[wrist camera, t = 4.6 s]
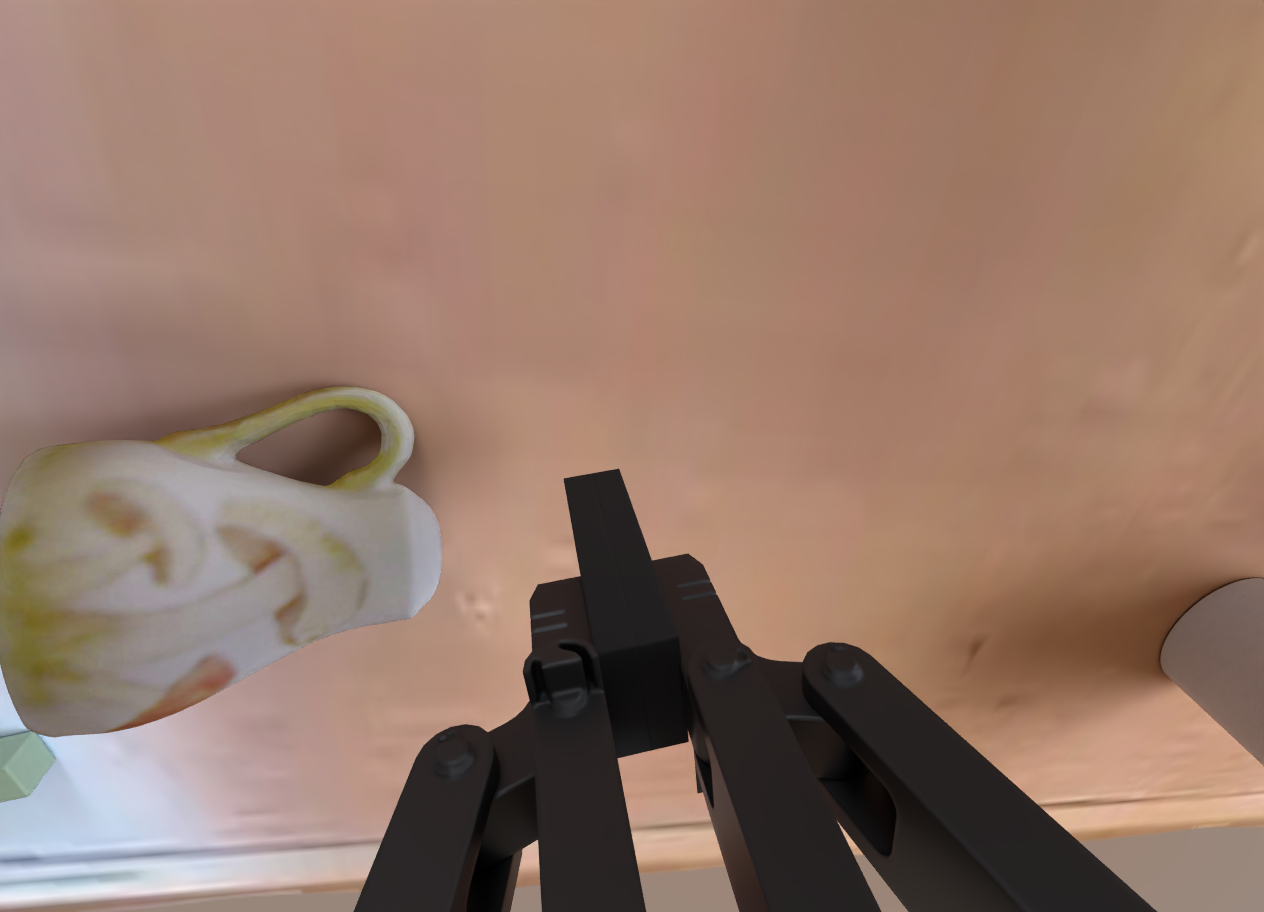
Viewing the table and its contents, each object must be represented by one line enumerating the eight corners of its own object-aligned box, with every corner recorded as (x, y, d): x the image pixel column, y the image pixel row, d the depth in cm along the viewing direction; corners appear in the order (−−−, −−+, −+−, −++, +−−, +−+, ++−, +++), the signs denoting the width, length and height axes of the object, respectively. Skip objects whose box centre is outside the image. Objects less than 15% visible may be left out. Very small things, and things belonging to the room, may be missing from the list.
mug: (471, 596, 23) (242, 892, 15) (245, 483, 24) (-81, 702, 16) (499, 434, 18) (191, 735, 10) (218, 305, 19) (-253, 487, 11)
